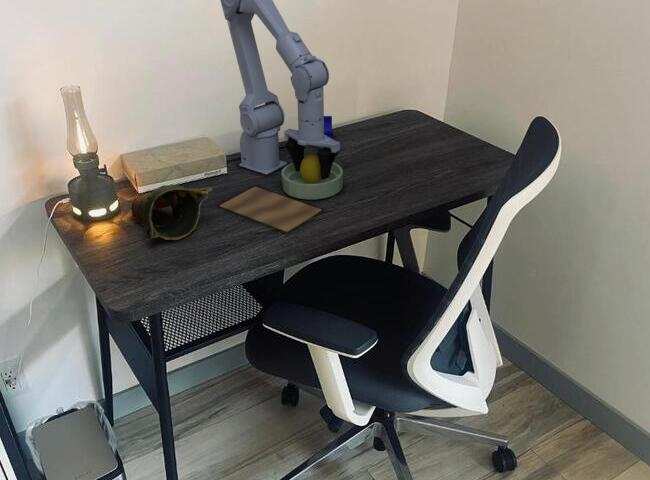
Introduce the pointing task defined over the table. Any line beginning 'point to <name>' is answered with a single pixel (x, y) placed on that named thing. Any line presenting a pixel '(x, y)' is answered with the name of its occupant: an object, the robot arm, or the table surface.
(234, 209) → the cork mat
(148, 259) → the table surface
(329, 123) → the cable clip
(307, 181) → the lemon
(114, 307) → the table surface
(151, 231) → the pot
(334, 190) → the bowl
